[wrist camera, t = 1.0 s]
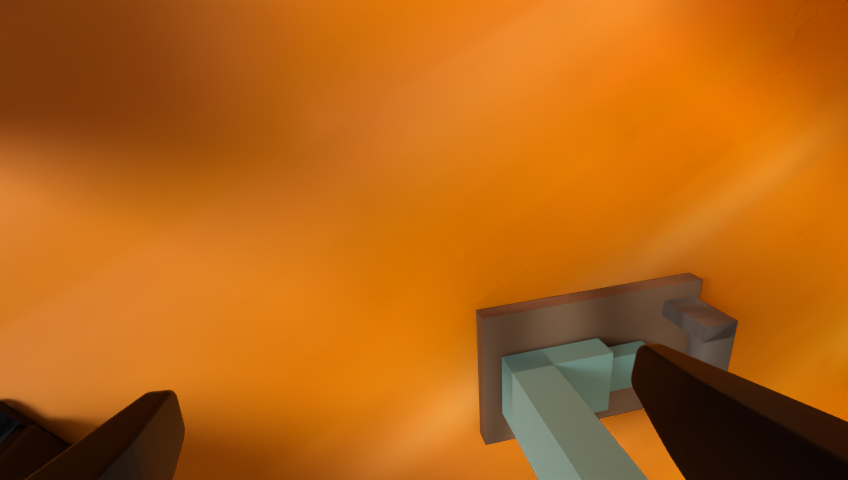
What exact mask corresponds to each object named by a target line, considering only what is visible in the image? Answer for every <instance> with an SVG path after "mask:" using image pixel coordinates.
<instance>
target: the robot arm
mask: <svg viewBox="0 0 848 480" xmlns="http://www.w3.org/2000/svg"><path fill="white" fill-rule="evenodd" d="M631 384H632V387H633V390H634V392H635V393H636V395H637V397H638V399H639V401H640V403H641V404H642V406H643V408H644V410H645V412H646V413H647V415H648V417H649V419H650V421H651V422H652V424H653V426H654V428H655V430H656V432H657V433H658V435H659V437H660V439H661V441H662V442H663V444H664V446H665V448H666V450H667V451H668V453H669V455H670V456H671V458H672V460H673V461H674V463H675V464H676V466H677V467H678V469H679V470H680V472H681V473H682V475H683V476H684V478H685V479H686V480H848V422H847V421H845V420H842V419H840V418H838V417H835V416H833V415H830V414H828V413H826V412H823V411H821V410H818V409H816V408H814V407H811V406H809V405H806V404H804V403H802V402H799V401H797V400H794V399H792V398H790V397H787V396H785V395H782V394H780V393H778V392H775V391H773V390H770V389H768V388H766V387H763V386H761V385H759V384H756V383H754V382H751V381H749V380H747V379H744V378H742V377H739V376H737V375H735V374H732V373H730V372H727V371H725V370H723V369H720V368H718V367H715V366H713V365H711V364H708V363H706V362H703V361H701V360H699V359H696V358H694V357H691V356H689V355H687V354H684V353H682V352H679V351H677V350H675V349H672V348H670V347H667V346H665V345H663V344H658V343H656V344H645V345H641V346H640V347H639V348H638V349H637V352H636V356H635V361H634V365H633V370H632V374H631ZM184 434H185V427H184V422H183V418H182V414H181V410H180V406H179V403H178V399H177V396H176V394H175V392H174V391H172V390H163V391H153V392H148V393H146V394H144V395H143V396H141V397H140V398H138V399H137V400H136V401H134V402H133V403H131V404H130V405H129V406H127V407H126V408H124V409H123V410H122V411H120V412H119V413H117V414H116V415H115V416H113V417H112V418H110V419H109V420H108V421H106V422H105V423H103V424H102V425H101V426H99V427H98V428H96V429H95V430H94V431H92V432H91V433H89V434H88V435H87V436H85V437H84V438H82V439H81V440H80V441H78V442H77V443H75V444H74V445H73V446H71V445H69V444H68V443H66V442H65V441H63V440H62V439H60V438H59V437H57V436H55V435H54V434H52V433H51V432H49V431H48V430H46V429H44V428H43V427H41V426H40V425H38V424H37V423H35V422H33V421H32V420H30V419H29V418H27V417H26V416H24V415H23V414H21V413H19V412H18V411H16V410H15V409H13V408H12V407H10V406H8V405H7V404H5V403H3V402H0V480H173V477H174V473H175V469H176V466H177V462H178V458H179V455H180V451H181V447H182V444H183V440H184Z"/></svg>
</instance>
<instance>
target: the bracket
mask: <svg viewBox="0 0 848 480" xmlns="http://www.w3.org/2000/svg"><path fill="white" fill-rule="evenodd" d="M701 285H702V279H700V278H698V277H696V276H695V275H693V274H691V273H687V274H681V275H675V276H669V277H664V278H658V279H652V280H647V281H641V282H635V283H629V284H624V285H618V286H612V287H606V288H601V289H595V290H589V291H583V292H578V293H572V294H566V295H561V296H555V297H549V298H543V299H538V300H532V301H526V302H520V303H515V304H509V305H503V306H497V307H492V308H486V309H480V310H476V315H477V345H478V374H479V404H480V433H481V435H482V438H483V440H484V442H485V444H486V445H488V444H492V443H497V442H501V441H505V440H510V439H514V438H516V437H515V435H514V434H513V432H512V430H511V428H510V426H509V424H508V422H507V421H506V419H505V417H504V415H503V413H502V357H504V356H509V355H514V354H519V353H525V352H530V351H535V350H540V349H545V348H550V347H555V346H560V345H565V344H570V343H575V342H581V341H586V340H591V339H596V338H598V339H599V340H600V341H601V342H602V343H604V344H605V345H606V346H607V347H612V346H617V345H622V344H627V343H632V342H637V341H643V342H644V343H645V344H656V343H658V344H663V345H665V346H667V347H670V348H672V349H675V350H677V351H679V352H682V353H684V354H687V355H689V356H691V357H694V358H696V359H699V360H701V361H703V362H706V363H708V364H711V365H713V366H715V367H718V368H720V369H723V370H725V371H727V370H728V366H729V361H730V356H731V351H732V346H733V342H734V337H735V332H736V327H737V323H738V321H737V320H735V319H733V318H732V317H730V316H728V315H726V314H725V313H723V312H721V311H719V310H718V309H716V308H714V307H712V306H710V305H709V304H707V303H705V302H703V301H702V300H700V299H699V297H700V291H701ZM639 409H643V406H642V404H641V403H640V401H639V399H638V397H637V395H636V393H635V392H634V390H633V387H630V388H625V389H621V390H616V391H611V392H610V393H609V404H608V410H605V411H600V412H596V413H594V414H595V415H596V417H597V418H598V419H600V418H604V417H609V416H613V415H617V414H622V413H626V412H630V411H635V410H639Z"/></svg>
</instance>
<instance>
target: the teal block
mask: <svg viewBox="0 0 848 480" xmlns="http://www.w3.org/2000/svg"><path fill="white" fill-rule="evenodd" d="M641 345H645V343H644V342H643V341H637V342H632V343H627V344H622V345H617V346H612V347H607V346H606V345H605V344H604V343H602V342H601V341H600V340H599V339H598V338H596V339H591V340H586V341H581V342H575V343H570V344H565V345H560V346H555V347H550V348H545V349H540V350H535V351H530V352H525V353H519V354H514V355H509V356H504V357H502V413H503V415H504V417H505V419H506V421H507V422H508V424H509V426H510V428H511V430H512V432H513V434H514V435H515V437H516V439H517V441H518V443H519V445H520V446H521V448H522V450H523V452H524V454H525V456H526V458H527V459H528V461H529V463H530V465H531V467H532V469H533V471H534V472H535V474H536V476H537V478H538V480H648V479H647V477H646V476H645V475H644V474H643V473H642V471H641V470H640V469H639V468H638V466H637V465H636V464H635V463H634V462H633V460H632V459H631V458H630V457H629V455H628V454H627V453H626V452H625V451H624V449H623V448H622V447H621V446H620V445H619V443H618V442H617V441H616V440H615V438H614V437H613V436H612V435H611V434H610V432H609V431H608V430H607V429H606V427H605V426H604V425H603V424H602V423H601V421H600V420H599V419H598V418H597V417H596V415H595V414H594V413H596V412H600V411H605V410H608V404H609V393H610V392H611V391H616V390H621V389H625V388H630V387H632V384H631V374H632V370H633V365H634V361H635V356H636V352H637V349H638V348H639V347H640V346H641Z"/></svg>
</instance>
